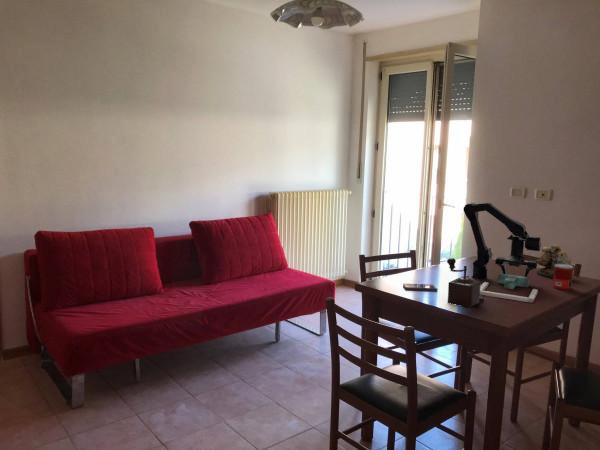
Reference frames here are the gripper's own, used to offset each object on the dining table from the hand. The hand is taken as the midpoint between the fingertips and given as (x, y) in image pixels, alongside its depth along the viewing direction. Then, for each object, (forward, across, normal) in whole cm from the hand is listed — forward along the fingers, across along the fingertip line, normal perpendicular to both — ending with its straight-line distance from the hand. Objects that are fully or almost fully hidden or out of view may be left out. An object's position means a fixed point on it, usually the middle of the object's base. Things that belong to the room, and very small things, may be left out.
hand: (514, 279), depth 250 cm
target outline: (+1, 0, -22) cm, 22 cm away
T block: (+2, 0, -8) cm, 8 cm away
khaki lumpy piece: (+2, +15, +25) cm, 30 cm away
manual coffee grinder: (+2, -16, -47) cm, 50 cm away
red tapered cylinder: (+2, +21, +2) cm, 21 cm away
